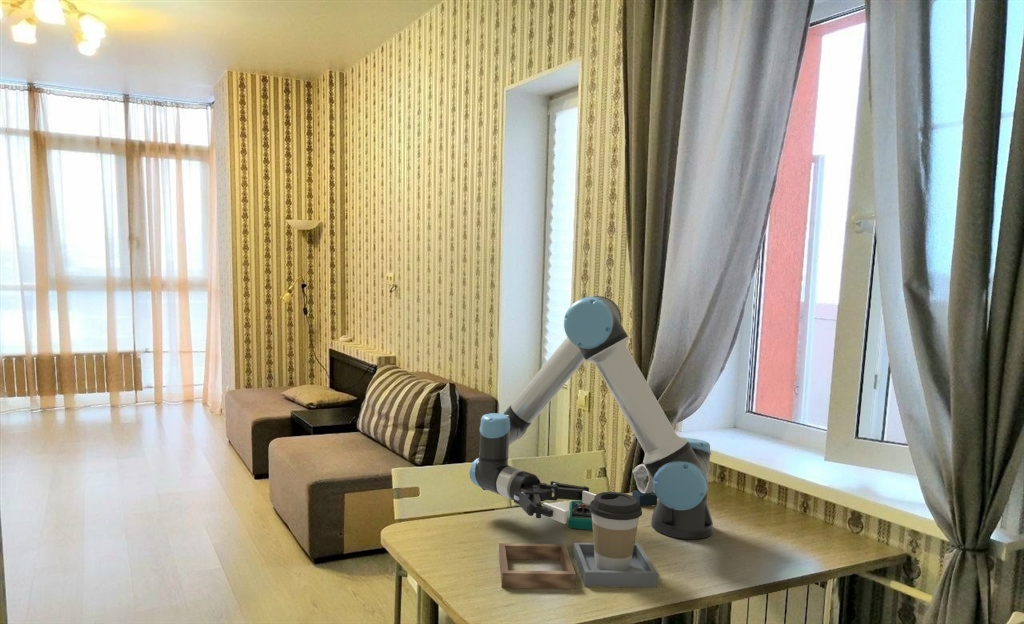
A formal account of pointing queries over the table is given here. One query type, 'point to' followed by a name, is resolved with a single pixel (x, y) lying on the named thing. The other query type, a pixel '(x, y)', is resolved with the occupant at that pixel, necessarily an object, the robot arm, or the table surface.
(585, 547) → the tray
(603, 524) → the coffee cup
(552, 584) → the collar
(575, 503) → the digital multimeter
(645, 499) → the watch
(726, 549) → the table surface
